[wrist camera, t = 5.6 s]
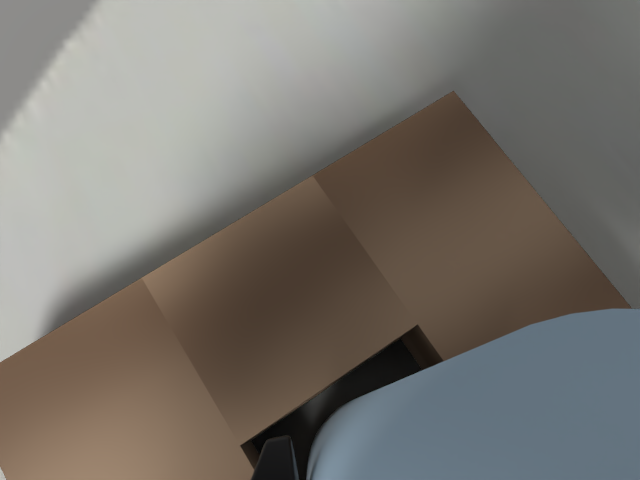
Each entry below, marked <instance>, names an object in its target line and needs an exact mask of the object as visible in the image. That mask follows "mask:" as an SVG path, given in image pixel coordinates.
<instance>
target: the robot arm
mask: <svg viewBox="0 0 640 480" xmlns="http://www.w3.org/2000/svg"><path fill="white" fill-rule="evenodd" d="M251 480H299V476H298V470H297V465H296V460H295V455H294V450H293V444H292V440H291V437H290V436H288V435H286V436H280V437H275V438H270V439H268V440H267V441H266V442H265V444H264V446H263V449H262V451H261V454H260V456H259V459H258V462H257V464H256V467H255V469H254V472H253V475H252V477H251Z"/></svg>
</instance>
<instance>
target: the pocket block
mask: <svg viewBox="0 0 640 480" xmlns="http://www.w3.org/2000/svg"><path fill="white" fill-rule="evenodd" d="M605 309H632V308H631V307H630V305H629V304H628V303H627V302H626V301H625V299H624V298H623V297H622V296H621V295H620V293H619V292H618V291H617V290H616V288H615V287H614V286H613V285H612V284H611V282H610V281H609V280H608V279H607V277H606V276H605V275H604V274H603V273H602V271H601V270H600V269H599V268H598V266H597V265H596V264H595V263H594V262H593V260H592V259H591V258H590V257H589V255H588V254H587V253H586V252H585V251H584V249H583V248H582V247H581V246H580V244H579V243H578V242H577V241H576V240H575V238H574V237H573V236H572V235H571V233H570V232H569V231H568V230H567V229H566V227H565V226H564V225H563V224H562V223H561V221H560V220H559V219H558V218H557V216H556V215H555V214H554V213H553V212H552V210H551V209H550V208H549V207H548V205H547V204H546V203H545V202H544V201H543V199H542V198H541V197H540V196H539V194H538V193H537V192H536V191H535V190H534V188H533V187H532V186H531V185H530V183H529V182H528V181H527V180H526V179H525V177H524V176H523V175H522V174H521V172H520V171H519V170H518V169H517V168H516V166H515V165H514V164H513V163H512V161H511V160H510V159H509V158H508V157H507V155H506V154H505V153H504V152H503V151H502V149H501V148H500V147H499V146H498V144H497V143H496V142H495V141H494V140H493V138H492V137H491V136H490V135H489V133H488V132H487V131H486V130H485V129H484V127H483V126H482V125H481V124H480V122H479V121H478V120H477V119H476V118H475V116H474V115H473V114H472V113H471V111H470V110H469V109H468V108H467V107H466V105H465V104H464V103H463V102H462V100H461V99H460V98H459V97H458V96H457V94H456V93H455V92H454V91H452V92H451V93H449V94H447V95H446V96H444V97H442V98H441V99H439V100H437V101H436V102H434V103H432V104H431V105H429V106H427V107H426V108H424V109H422V110H421V111H419V112H417V113H416V114H414V115H412V116H411V117H409V118H407V119H406V120H404V121H402V122H401V123H399V124H397V125H396V126H394V127H392V128H391V129H389V130H387V131H386V132H384V133H382V134H381V135H379V136H377V137H376V138H374V139H372V140H371V141H369V142H367V143H366V144H364V145H362V146H361V147H359V148H357V149H356V150H354V151H352V152H351V153H349V154H347V155H346V156H344V157H342V158H341V159H339V160H337V161H336V162H334V163H332V164H331V165H329V166H327V167H326V168H324V169H322V170H321V171H319V172H317V173H316V174H314V175H312V176H311V177H309V178H307V179H306V180H304V181H302V182H301V183H299V184H297V185H296V186H294V187H292V188H291V189H289V190H287V191H286V192H284V193H282V194H281V195H279V196H277V197H276V198H274V199H272V200H271V201H269V202H267V203H266V204H264V205H262V206H261V207H259V208H257V209H256V210H254V211H252V212H251V213H249V214H247V215H245V216H244V217H242V218H240V219H239V220H237V221H235V222H234V223H232V224H230V225H229V226H227V227H225V228H224V229H222V230H220V231H219V232H217V233H215V234H214V235H212V236H210V237H209V238H207V239H205V240H204V241H202V242H200V243H199V244H197V245H195V246H194V247H192V248H190V249H189V250H187V251H185V252H184V253H182V254H180V255H179V256H177V257H175V258H174V259H172V260H170V261H169V262H167V263H165V264H164V265H162V266H160V267H159V268H157V269H155V270H154V271H152V272H150V273H149V274H147V275H145V276H144V277H142V278H140V279H139V280H137V281H135V282H134V283H132V284H130V285H129V286H127V287H125V288H124V289H122V290H120V291H119V292H117V293H115V294H114V295H112V296H110V297H109V298H107V299H105V300H104V301H102V302H100V303H99V304H97V305H95V306H94V307H92V308H90V309H89V310H87V311H85V312H84V313H82V314H80V315H79V316H77V317H75V318H74V319H72V320H70V321H69V322H67V323H65V324H64V325H62V326H60V327H59V328H57V329H55V330H54V331H52V332H50V333H49V334H47V335H45V336H44V337H42V338H40V339H39V340H37V341H35V342H34V343H32V344H30V345H29V346H27V347H25V348H24V349H22V350H20V351H19V352H17V353H15V354H14V355H12V356H10V357H9V358H7V359H5V360H4V361H2V362H0V467H1V469H2V471H3V473H4V475H5V478H6V480H251V477H252V475H253V472H254V469H255V467H256V464H257V462H258V459H259V456H260V455H259V453H258V452H257V450H256V448H255V446H254V445H253V443H252V441H251V440H253V439H254V438H256V437H257V436H259V435H260V434H261V433H263V432H264V431H266V430H267V429H269V428H270V427H272V426H273V425H275V424H276V423H278V422H279V421H281V420H282V419H283V418H285V417H286V416H288V415H289V414H291V413H292V412H294V411H295V410H297V409H298V408H300V407H301V406H302V405H304V404H305V403H307V402H308V401H310V400H311V399H313V398H314V397H316V396H317V395H319V394H320V393H322V392H323V391H324V390H326V389H327V388H329V387H330V386H332V385H333V384H335V383H336V382H338V381H339V380H341V379H342V378H343V377H345V376H346V375H348V374H349V373H351V372H352V371H354V370H355V369H357V368H358V367H360V366H361V365H363V364H364V363H365V362H367V361H368V360H370V359H371V358H373V357H374V356H376V355H377V354H379V353H380V352H382V351H383V350H384V349H386V348H387V347H389V346H390V345H392V344H393V343H395V342H396V341H398V340H399V339H401V340H402V341H403V343H404V344H405V346H406V347H407V349H408V350H409V352H410V353H411V354H412V356H413V357H414V359H415V360H416V362H417V363H418V365H419V366H420V367H421V369H422V370H424V369H427V368H429V367H432V366H434V365H436V364H439V363H441V362H443V361H446V360H448V359H450V358H453V357H455V356H458V355H460V354H462V353H465V352H467V351H469V350H472V349H474V348H476V347H479V346H481V345H484V344H486V343H488V342H491V341H493V340H495V339H498V338H500V337H502V336H505V335H507V334H510V333H512V332H514V331H517V330H519V329H521V328H524V327H526V326H528V325H531V324H535V323H538V322H542V321H546V320H550V319H553V318H557V317H561V316H565V315H568V314H573V313H581V312H589V311H597V310H605Z"/></svg>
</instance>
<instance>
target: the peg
mask: <svg viewBox="0 0 640 480" xmlns="http://www.w3.org/2000/svg"><path fill="white" fill-rule="evenodd" d="M307 480H640V309H605V310H597V311H589V312H581V313H573V314H568V315H565V316H561V317H557V318H553V319H550V320H546V321H542V322H538V323H535V324H531V325H528V326H526V327H524V328H521V329H519V330H517V331H514V332H512V333H510V334H507V335H505V336H502V337H500V338H498V339H495V340H493V341H491V342H488V343H486V344H484V345H481V346H479V347H476V348H474V349H472V350H469V351H467V352H465V353H462V354H460V355H458V356H455V357H453V358H450V359H448V360H446V361H443V362H441V363H439V364H436V365H434V366H432V367H429V368H427V369H424V370H422V371H420V372H417V373H415V374H413V375H410V376H408V377H406V378H403V379H401V380H398V381H396V382H394V383H391V384H389V385H387V386H384V387H382V388H380V389H377V390H375V391H372V392H370V393H368V394H365V395H363V396H361V397H358V398H356V399H354V400H351V401H349V402H347V403H345V404H344V405H342V406H340V407H339V408H338V409H337V410H335V411H334V412H333V413H332V414H331V415H330V416H329V417H328V418H327V419H326V420H325V421H324V423H323V424H322V425H321V427H320V428H319V430H318V432H317V434H316V435H315V437H314V440H313V442H312V445H311V448H310V452H309V456H308V462H307Z"/></svg>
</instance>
